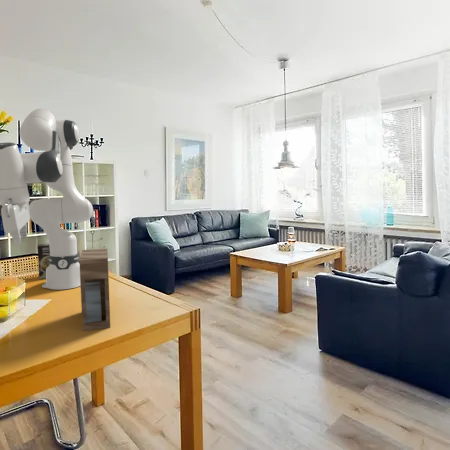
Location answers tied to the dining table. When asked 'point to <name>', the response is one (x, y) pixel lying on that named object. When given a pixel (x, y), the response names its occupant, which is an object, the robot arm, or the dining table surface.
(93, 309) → the slate block
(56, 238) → the robot arm
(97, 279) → the walnut box
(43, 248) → the coffee box
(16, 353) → the dining table surface
